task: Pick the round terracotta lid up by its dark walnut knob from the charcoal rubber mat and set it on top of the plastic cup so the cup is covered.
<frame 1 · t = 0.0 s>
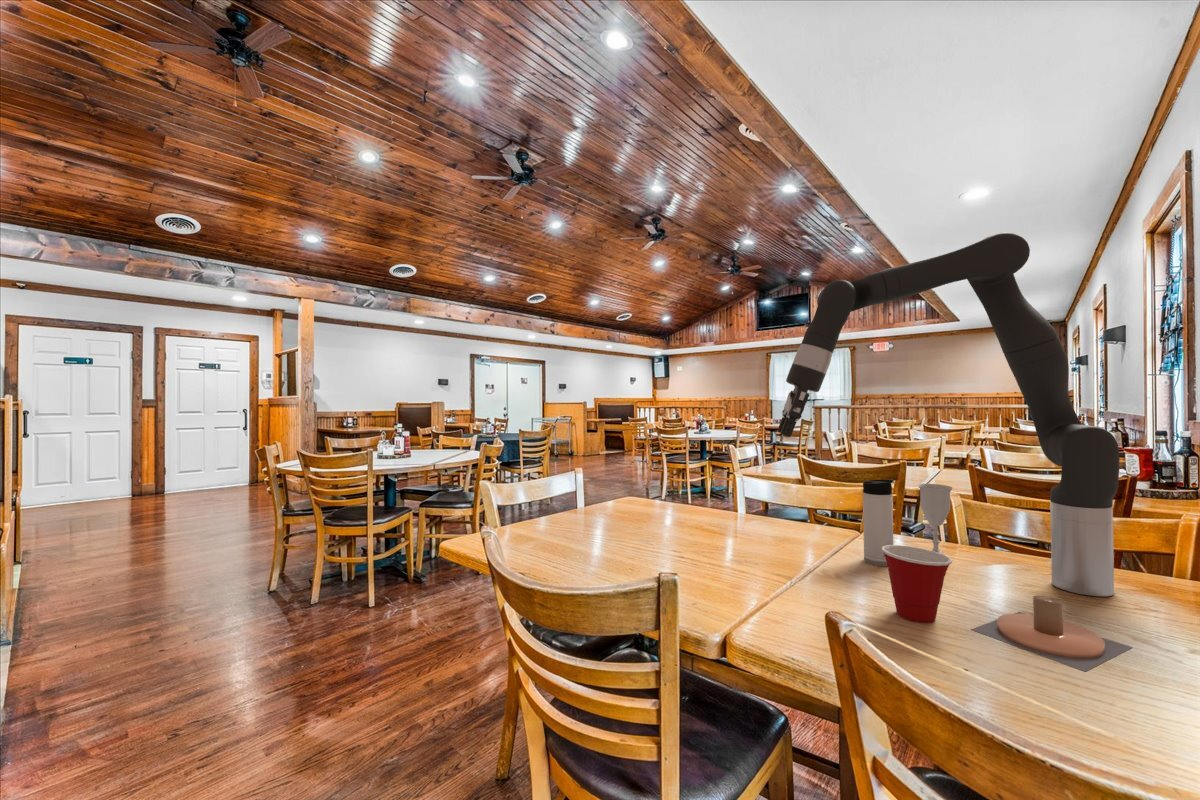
hand: (783, 434, 117), 31 cm above the table, tool tilted 20°, fingers open, 8 cm apart
mat: (1048, 640, 82), on the table
plastic cup: (917, 619, 92), on the table
lid: (1048, 638, 82), resting on mat
travel mug: (879, 563, 122), on the table
chalice: (936, 562, 122), on the table
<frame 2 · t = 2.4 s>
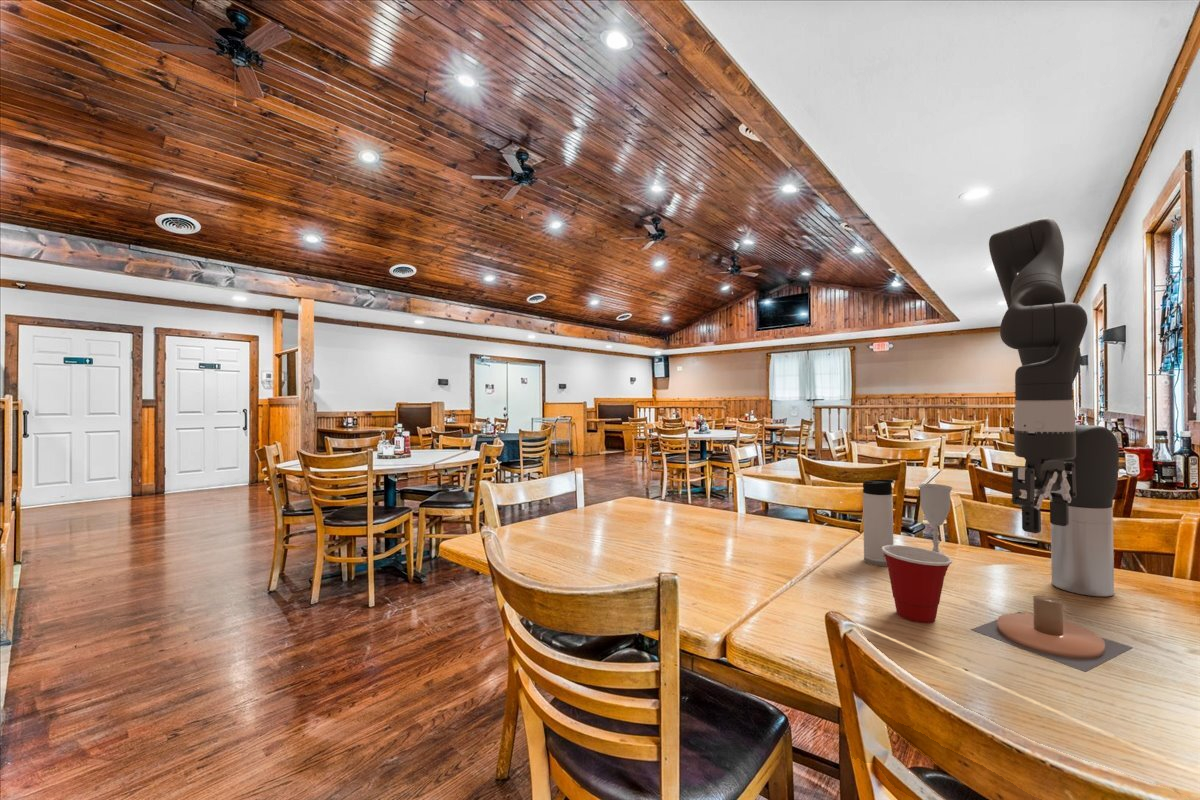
hand: (1045, 528, 82), 18 cm above the table, tool pointing down, fingers open, 8 cm apart
nothing on the table moved.
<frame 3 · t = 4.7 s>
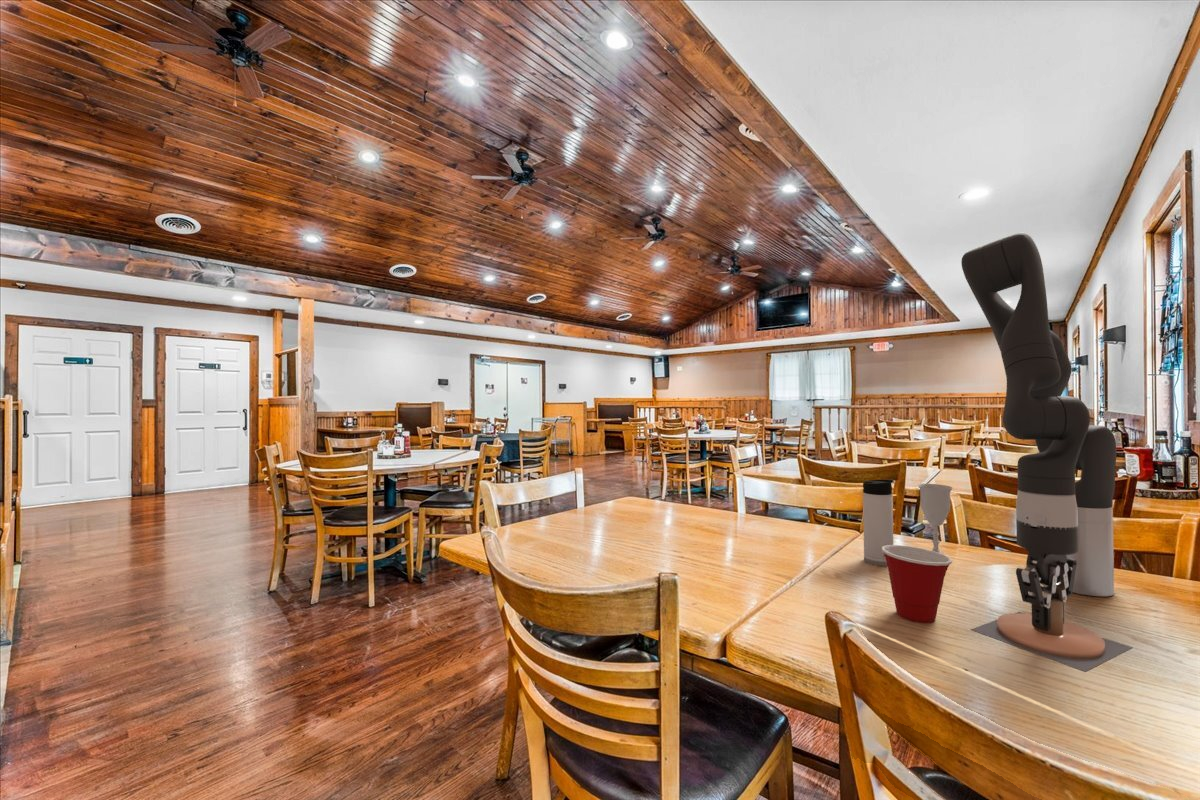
hand: (1048, 625, 82), 2 cm above the table, tool pointing down, fingers closed on lid, 3 cm apart
lid: (1048, 637, 82), resting on mat, touching gripper
everything else where it was.
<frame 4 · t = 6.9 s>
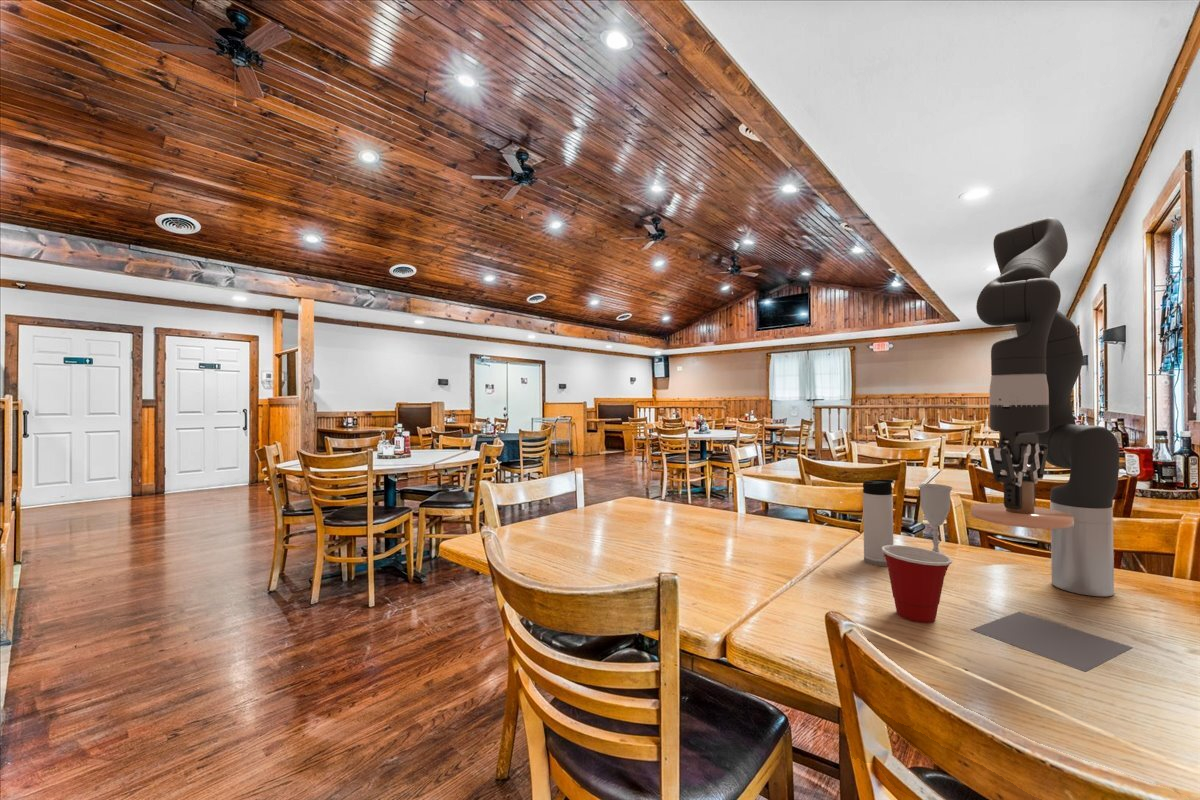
hand: (1019, 506, 84), 21 cm above the table, tool pointing down, fingers closed on lid, 3 cm apart
lid: (1019, 518, 84), point 19 cm above the table, touching gripper
everything else where it was.
when the fingers open (15 cm above the table, at t = 9.6 s): lid drops 1 cm, resting on plastic cup.
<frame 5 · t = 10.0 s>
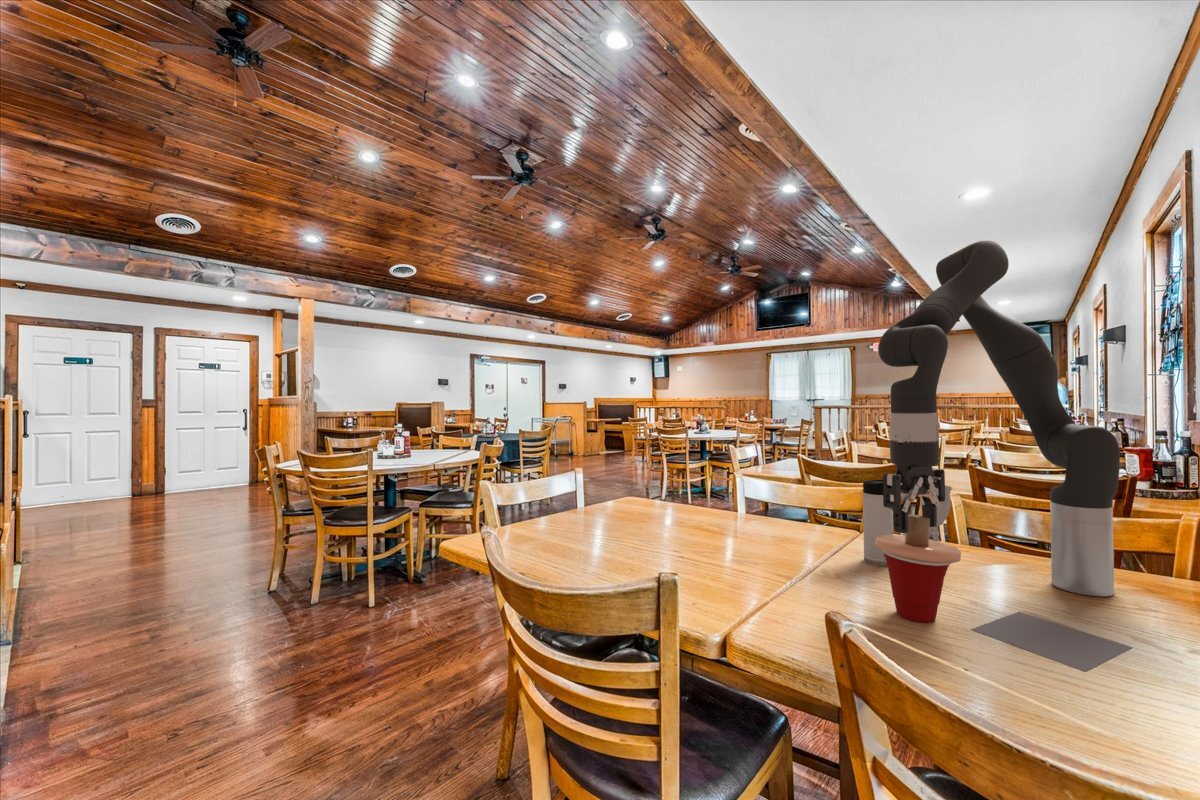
hand: (915, 529, 91), 16 cm above the table, tool pointing down, fingers open, 7 cm apart
plastic cup: (917, 619, 92), on the table, touching lid
lid: (916, 551, 91), point 12 cm above the table, touching plastic cup
everything else where it was.
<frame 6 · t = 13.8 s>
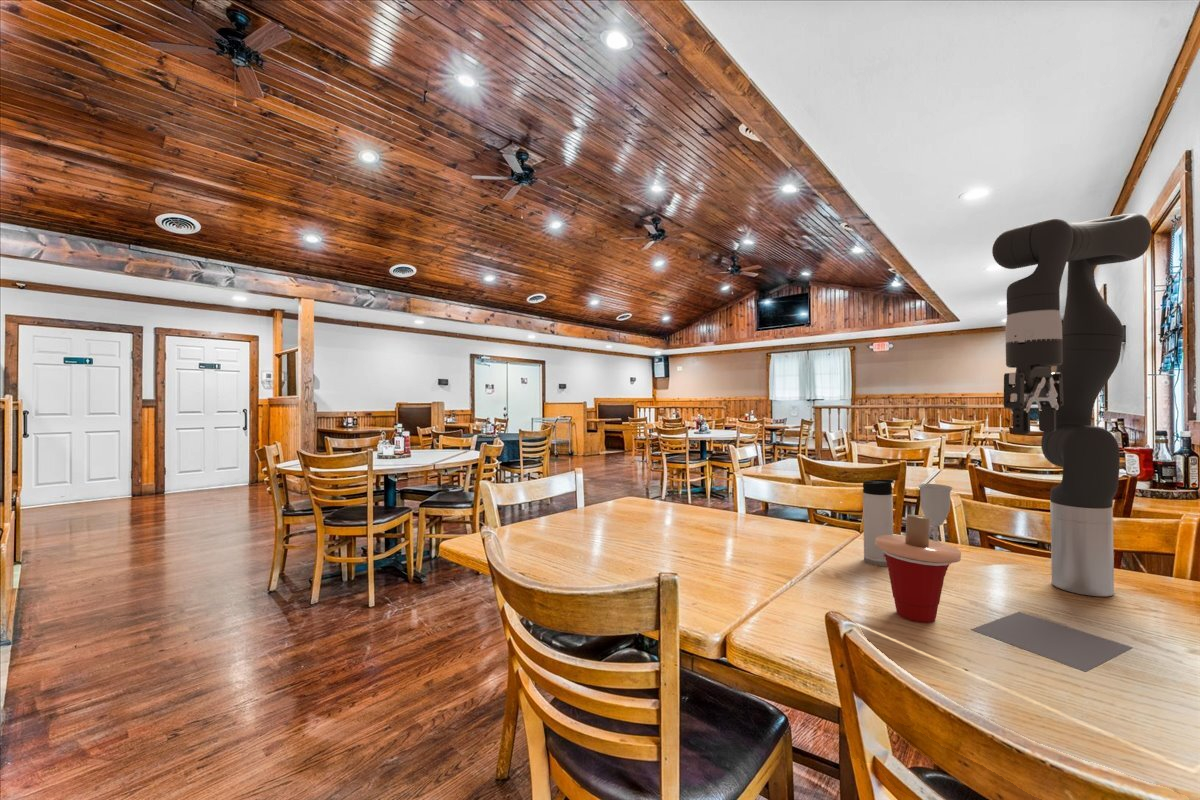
hand: (1034, 432, 88), 33 cm above the table, tool pointing down, fingers open, 8 cm apart
nothing on the table moved.
at the end: lid 0.1 cm from the plastic cup (horizontally); lid point 12.0 cm above the table; lid tilted 4° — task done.
